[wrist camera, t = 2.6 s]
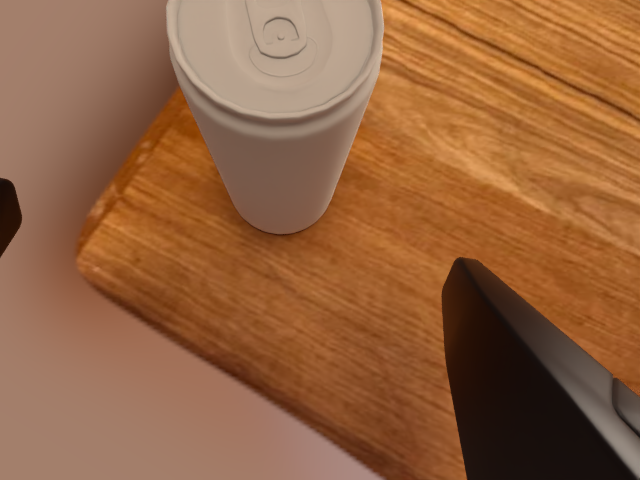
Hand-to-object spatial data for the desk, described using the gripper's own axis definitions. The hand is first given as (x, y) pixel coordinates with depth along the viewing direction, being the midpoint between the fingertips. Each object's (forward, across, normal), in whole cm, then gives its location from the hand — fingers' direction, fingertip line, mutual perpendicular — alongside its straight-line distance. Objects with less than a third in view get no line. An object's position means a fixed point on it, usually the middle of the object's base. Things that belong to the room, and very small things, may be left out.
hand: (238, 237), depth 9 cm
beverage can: (+11, 0, +5) cm, 12 cm away
